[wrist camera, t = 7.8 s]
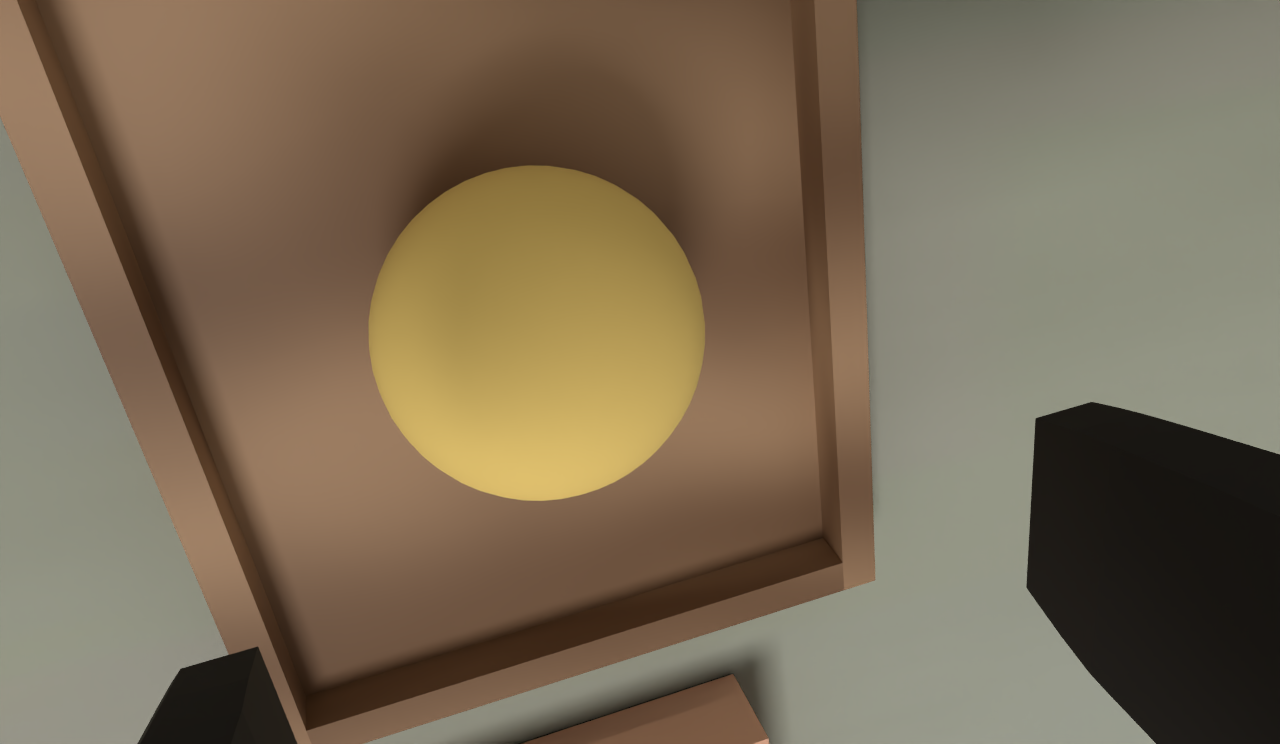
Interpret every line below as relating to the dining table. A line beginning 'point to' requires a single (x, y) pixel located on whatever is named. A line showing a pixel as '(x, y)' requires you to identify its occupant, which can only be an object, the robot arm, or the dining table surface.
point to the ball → (536, 333)
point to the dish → (674, 720)
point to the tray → (343, 288)
